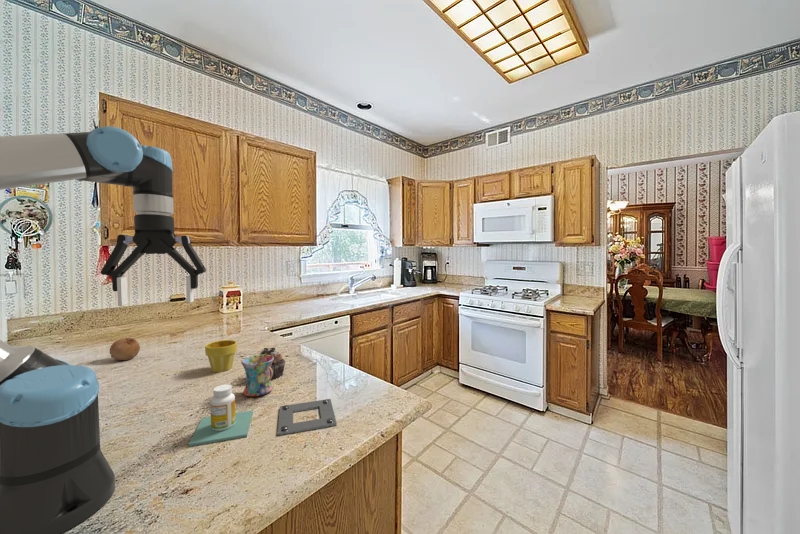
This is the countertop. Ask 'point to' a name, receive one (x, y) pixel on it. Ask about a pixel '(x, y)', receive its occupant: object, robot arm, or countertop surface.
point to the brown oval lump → (124, 349)
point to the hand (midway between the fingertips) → (157, 303)
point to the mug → (258, 374)
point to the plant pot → (221, 354)
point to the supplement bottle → (222, 408)
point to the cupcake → (275, 362)
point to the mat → (208, 435)
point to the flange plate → (289, 427)
